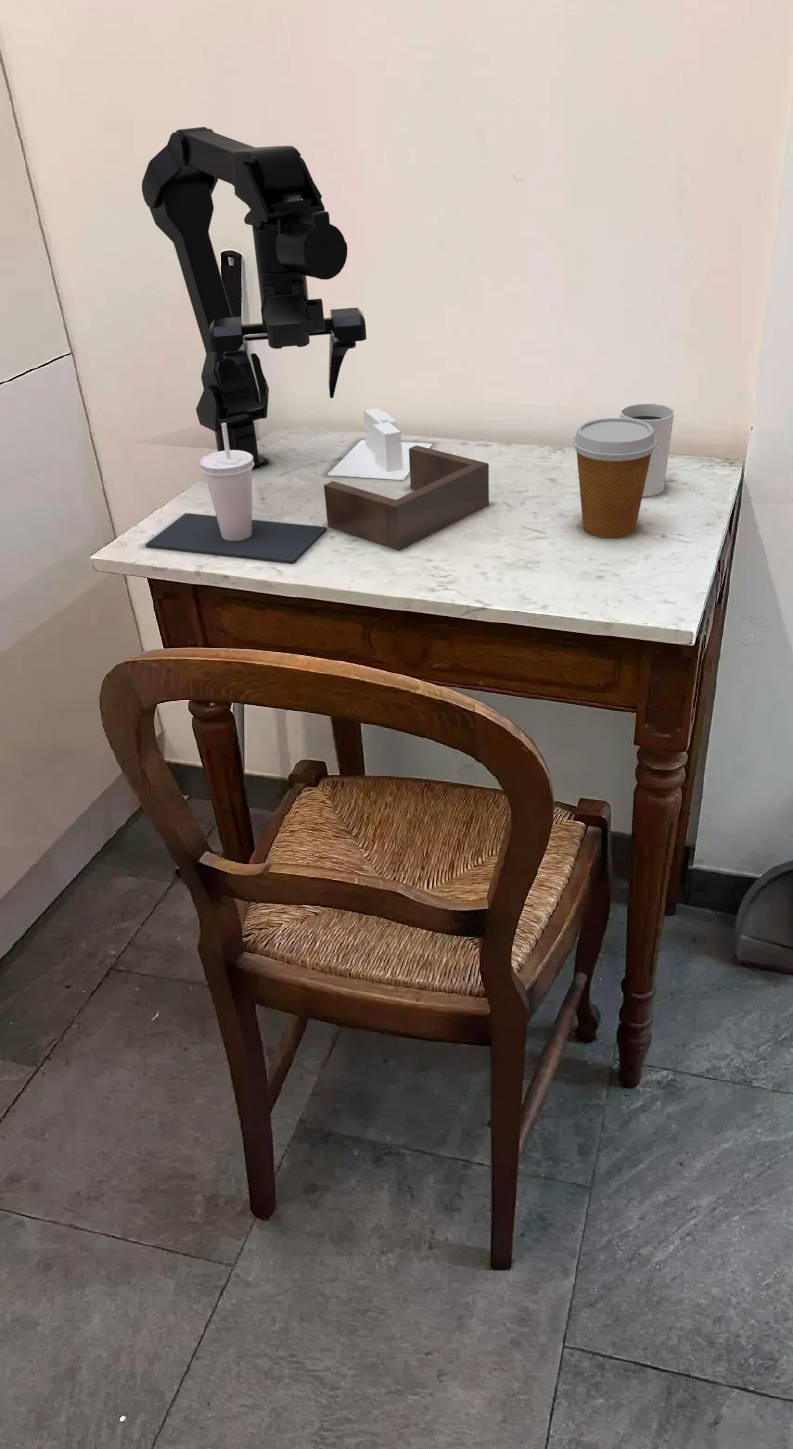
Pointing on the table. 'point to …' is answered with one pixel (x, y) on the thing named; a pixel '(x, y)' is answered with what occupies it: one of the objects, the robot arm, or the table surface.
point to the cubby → (412, 500)
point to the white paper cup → (662, 428)
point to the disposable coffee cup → (612, 473)
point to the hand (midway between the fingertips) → (295, 400)
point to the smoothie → (230, 489)
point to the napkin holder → (378, 451)
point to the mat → (262, 545)
